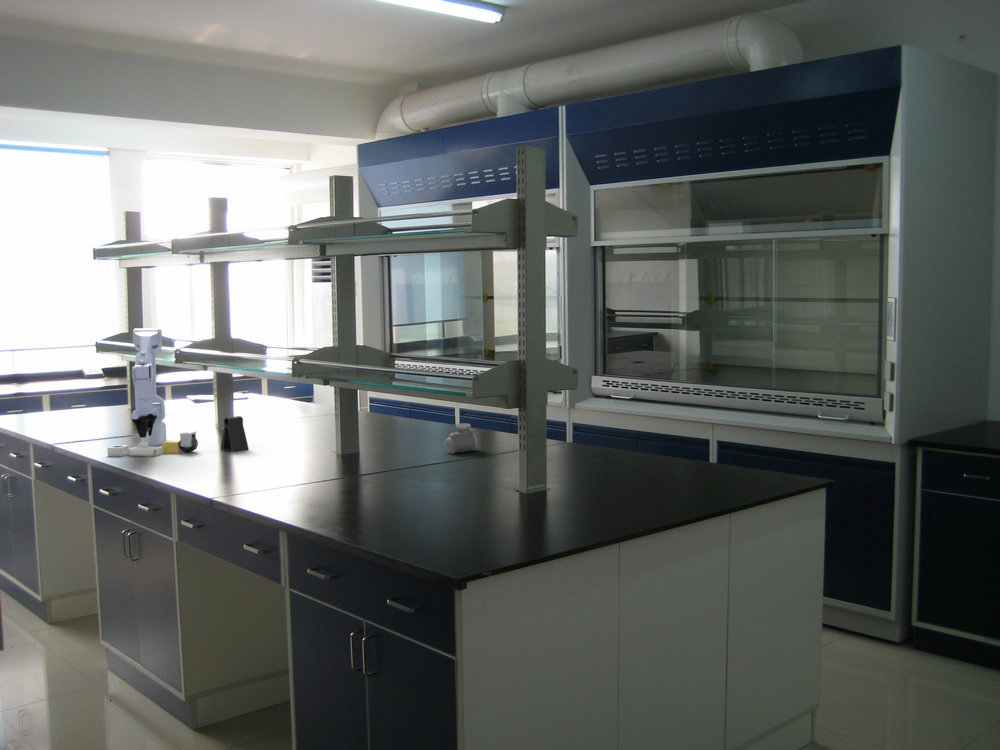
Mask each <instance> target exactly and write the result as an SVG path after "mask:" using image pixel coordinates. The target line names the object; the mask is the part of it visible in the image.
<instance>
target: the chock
mask: <svg viewBox="0 0 1000 750" xmlns="http://www.w3.org/2000/svg"><path fill="white" fill-rule="evenodd" d="M179 441H180V440H170V439H169V440H167V439H166V441H164V442H162V444H161V447H163V448H164V453H163V454H179V453H180V454H181V453H182V452H183V451H182V450H181V449H180V447H179Z"/></svg>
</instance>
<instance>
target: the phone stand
mask: <svg viewBox="0 0 1000 750" xmlns="http://www.w3.org/2000/svg"><path fill="white" fill-rule="evenodd" d="M223 423H224V426H223V431H222V437H221V444H220V450H222V451H227V452H232V453H235V452H237V453H238V452H242V451H243V452H244V451H248V450H249V449H250V448H249V445H248V444H249V443H248V441H247V436H246V431H245V428H244V418H243V416H241V415H240V416H239V415H237V416H231V417H225V418H224V419H223Z"/></svg>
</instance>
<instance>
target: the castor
mask: <svg viewBox="0 0 1000 750" xmlns="http://www.w3.org/2000/svg"><path fill="white" fill-rule="evenodd" d="M179 436H180V439H179V440H178V441H179V447H180V449H181V450H182V452H184V453H186V454H187V453H188V454H189V453H192V452H194V451H196V450H197V449H198V444H199V442H198V439H197V431H187V430H185V431H182V432H180V433H179Z"/></svg>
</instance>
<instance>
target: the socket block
mask: <svg viewBox="0 0 1000 750" xmlns="http://www.w3.org/2000/svg"><path fill="white" fill-rule="evenodd" d="M128 449H129V445H128V444H127V445H124V444H114V445H111V446H109V447H107V456H108V457H123V456H125V455H129V453H128Z"/></svg>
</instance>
